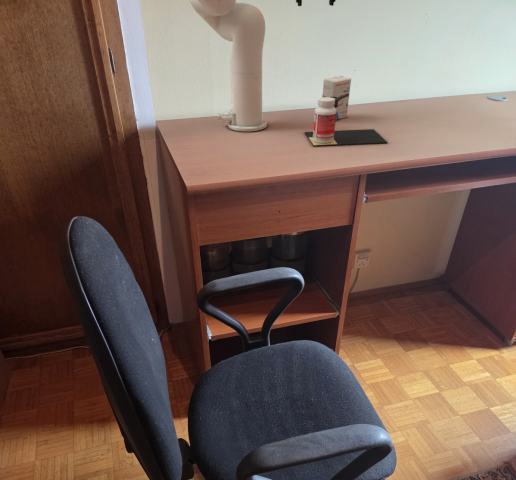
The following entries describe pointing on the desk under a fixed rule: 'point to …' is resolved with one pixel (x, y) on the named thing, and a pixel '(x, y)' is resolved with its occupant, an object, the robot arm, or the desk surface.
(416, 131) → the desk surface
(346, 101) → the ink box
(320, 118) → the pill bottle
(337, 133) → the desk mat
